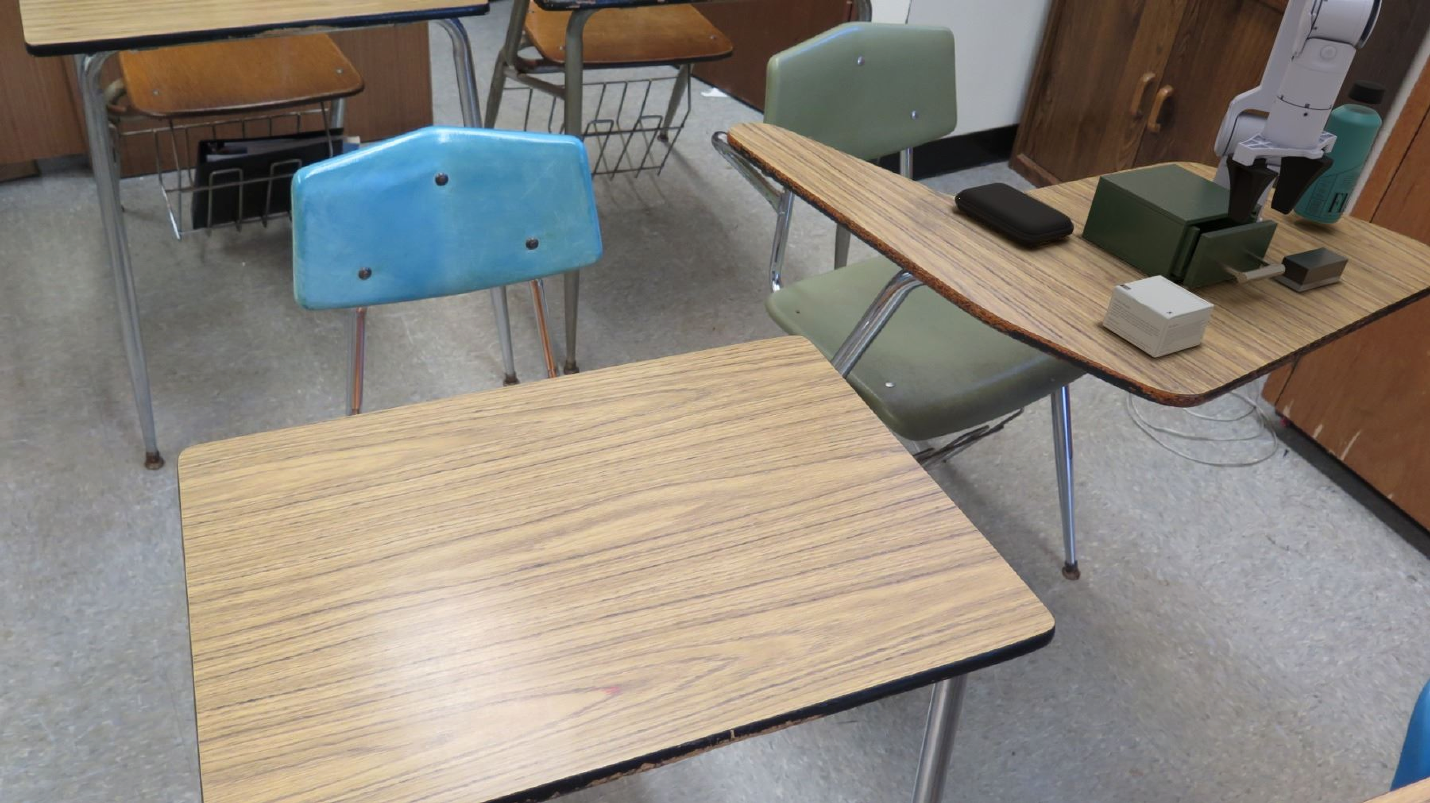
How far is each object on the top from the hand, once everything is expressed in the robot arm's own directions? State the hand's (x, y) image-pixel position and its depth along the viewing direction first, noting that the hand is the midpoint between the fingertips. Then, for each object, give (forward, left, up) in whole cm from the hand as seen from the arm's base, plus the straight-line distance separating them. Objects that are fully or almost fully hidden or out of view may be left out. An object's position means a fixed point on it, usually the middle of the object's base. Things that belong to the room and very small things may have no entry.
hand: (1258, 215), depth 125 cm
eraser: (-11, +8, -10) cm, 17 cm away
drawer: (-4, -4, -9) cm, 11 cm away
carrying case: (-2, -28, -10) cm, 30 cm away
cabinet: (-7, -10, -10) cm, 16 cm away
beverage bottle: (-32, +6, -10) cm, 34 cm away
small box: (+17, -6, -10) cm, 21 cm away
